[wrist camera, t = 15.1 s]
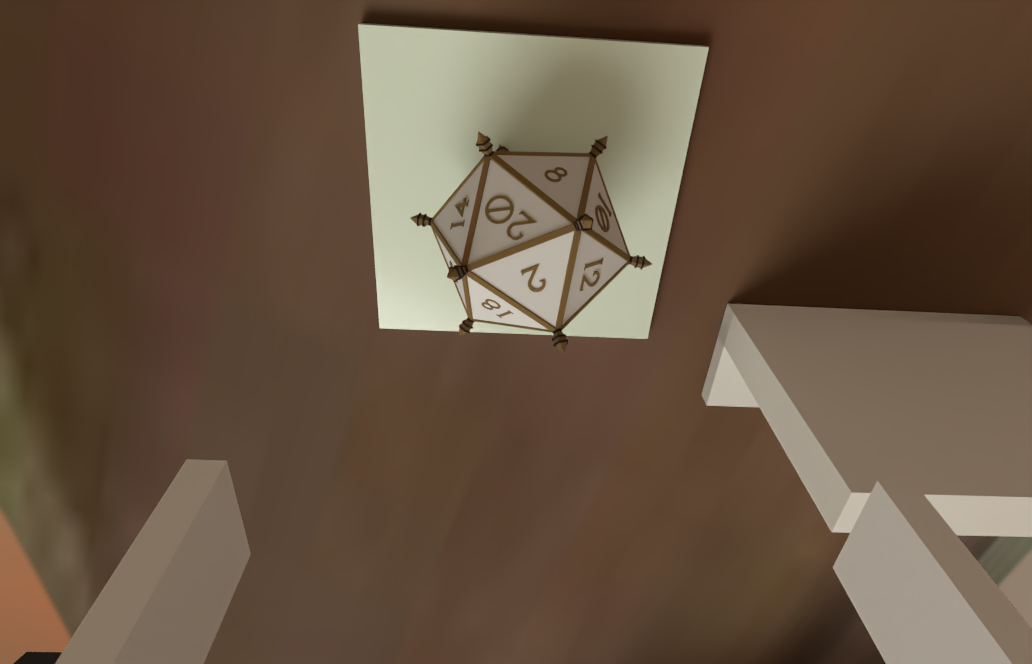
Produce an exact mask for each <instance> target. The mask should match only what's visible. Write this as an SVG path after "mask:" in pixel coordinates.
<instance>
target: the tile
mask: <svg viewBox="0 0 1032 664" xmlns="http://www.w3.org/2000/svg"><path fill="white" fill-rule="evenodd" d="M358 30H359V44H360V58H361V73H362V87H363V101H364V115H365V129H366V143H367V157H368V171H369V186H370V200H371V214H372V228H373V242H374V256H375V270H376V285H377V299H378V313H379V327H380V328H389V329H414V330H439V331H459V325H460V324H462V321H463V320H466V319H467V318H468V316H467V313H466V311H465V309H464V306H463V304H462V301H461V299H460V296H459V294H458V292H457V289H456V287H455V284H454V282H453V280H451V279H449V278H447V275H448V272H449V270H448V267H447V265H446V262H445V260H444V257H443V255H442V253H441V250H440V248H439V245H438V243H437V240H436V238H435V235H434V233H433V231H432V228H431V226H429V225H428V226H426V227H422V225H420V226H417V224H416V223H415V222H414V221H412V220H411V219H410V218H411V217H413V216H415V215H418V214H419V213H421V214H423V215H425V214H427V216H428V217H430V218H432V217H434V215H435V214H436V213H437V212H438V211H439V209H440V208H441V207H442V206H443V204H444V203H445V202H446V201H447V200H448V198H449V197H450V196H451V195H452V194H453V192H454V191H455V190H456V189H457V188H458V186H459V185H460V184H461V183H462V182H463V180H464V179H465V178H466V177H467V176H468V174H469V173H470V172H471V171H472V170H473V168H474V167H475V166H476V165H477V164H478V162H479V161H480V160H481V159H482V158H483V156H484V154H483V153H482V152H479V147H478V146H476V143H477V139H478V131H479V132H480V133H482V134H483V135H485V136H488V137H489V138H490V139H491V140H490V143H492V144H493V146H492V151H496V149H498V147H499V145H501V146H504V147H506V148H507V149H508V150H509V151H512V152H560V153H589V152H590V151H591V148H592V146H591V145H594V143H595V142H596V141H595V139H596V140H598V139H601V138H603V137H606V136H608V138H607V143H606V147H607V148H606V149H604V150H603V151H602V152H603V153H602V154H600V155H598V156H597V157H596V160H597V163H598V166H599V169H600V171H601V174H602V177H603V180H604V183H605V186H606V188H607V191H608V194H609V197H610V200H611V203H612V205H613V208H614V211H615V214H616V217H617V220H618V222H619V225H620V228H621V231H622V234H623V236H624V239H625V242H626V245H627V248H628V251H629V253H630V256H637V255H639V256H640V257H643V256H645V258H646V259H647V260H648V261H650V262H651V263H652V265H650V266H647V267H644V268H642V270H640V268H638V267H636V268H635V267H634V266H633V265H631V264H629V265H627V266H626V267H625V268H624V269H623V270H622V271H621V272H620V273H619V274H618V275H617V276H616V277H615V278H614V279H613V280H612V281H611V282H610V283H609V284H608V285H607V286H606V287H605V288H604V289H603V290H602V291H601V292H600V293H599V294H598V295H597V296H596V297H595V298H594V299H593V300H592V301H591V302H590V303H589V304H588V305H587V306H586V307H585V308H584V309H583V310H582V311H581V312H580V313H579V314H578V315H577V316H576V317H575V318H574V319H573V320H572V321H571V322H570V323H569V324H568V325H567V326H566V327H565V328H564V329H563V330H562V332H563V334H566V336H588V337H613V338H638V339H647V338H648V334H649V329H650V324H651V319H652V315H653V310H654V305H655V300H656V296H657V291H658V286H659V281H660V277H661V272H662V267H663V263H664V258H665V253H666V248H667V244H668V239H669V234H670V229H671V225H672V220H673V215H674V210H675V206H676V201H677V196H678V192H679V187H680V182H681V177H682V173H683V168H684V163H685V158H686V154H687V149H688V144H689V139H690V135H691V130H692V125H693V121H694V116H695V111H696V106H697V102H698V97H699V92H700V87H701V83H702V78H703V73H704V68H705V64H706V59H707V54H708V49H709V47H707V46H705V45H690V44H675V43H660V42H645V41H630V40H614V39H599V38H584V37H569V36H554V35H538V34H523V33H508V32H493V31H477V30H462V29H447V28H432V27H417V26H401V25H386V24H371V23H360V24H358ZM472 327H473V329H472V328H471V330H470V332H488V333H513V334H538V335H554V334H553V333H552V332H545V331H538V330H531V329H524V328H517V327H510V326H503V325H496V324H489V323H482V322H474V323H473V326H472Z"/></svg>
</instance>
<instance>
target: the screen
mask: <svg viewBox="0 0 1032 664" xmlns="http://www.w3.org/2000/svg"><path fill="white" fill-rule="evenodd" d="M702 397H703V399H704V401H705V403H706V405H708V406H736V407H760V409H761V411H762V413H763V414H764V416H765V418H766V420H767V421H768V423H769V425H770V426H771V428H772V430H773V432H774V433H775V435H776V437H777V439H778V440H779V442H780V444H781V446H782V447H783V449H784V451H785V452H786V454H787V456H788V458H789V459H790V461H791V463H792V465H793V466H794V468H795V470H796V472H797V473H798V475H799V477H800V478H801V480H802V482H803V484H804V485H805V487H806V489H807V491H808V492H809V494H810V496H811V498H812V499H813V501H814V503H815V504H816V506H817V508H818V510H819V511H820V513H821V515H822V517H823V518H824V520H825V522H826V524H827V525H828V527H829V529H830V530H831V532H844V533H851V531H852V529H853V527H854V525H855V523H856V521H857V519H858V517H859V515H860V513H861V511H862V509H863V507H864V505H865V504H866V502H867V500H868V498H869V496H870V494H871V492H872V490H873V488H874V486H875V484H876V482H877V480H879V481H912V482H914V483H915V484H916V486H917V487H918V488H919V489H920V491H921V492H922V493H923V494H924V495H925V497H926V498H927V499H928V500H929V502H930V503H931V504H932V505H933V507H934V508H935V509H936V510H937V512H938V513H939V514H940V515H941V517H942V518H943V519H944V520H945V522H946V523H947V524H948V525H949V527H950V528H951V529H952V530H953V532H954V533H955V534H956V535H970V536H1013V537H1032V324H1031V323H1029V322H1028V321H1026V320H1025V319H1023V318H1022V317H1021V316H1004V315H981V314H958V313H935V312H912V311H889V310H866V309H843V308H820V307H797V306H774V305H751V304H728V303H727V307H726V310H725V314H724V317H723V321H722V324H721V328H720V331H719V335H718V338H717V342H716V345H715V349H714V352H713V356H712V359H711V363H710V366H709V370H708V373H707V377H706V380H705V384H704V387H703V391H702Z"/></svg>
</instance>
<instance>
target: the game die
mask: <svg viewBox="0 0 1032 664" xmlns="http://www.w3.org/2000/svg"><path fill="white" fill-rule="evenodd" d="M607 138H608V136H606V137H603V138H601V139H598V140H596V139H595V141H596V142H595V143H594V145H591V146H592V148H591V151H590V152H589V153H560V152H512V151H509V150H508V149H507V148H506V147H504V146H501V145H499V147H498V149H496V151H492V146H493V144H492V143H490V140H491V139H490V138H489V137H488V136H485V135H483V134H482V133H480V132H479V131H478V139H477V143H476V146H478V147H479V152H482V153H483V154H484V156H483V158H482V159H481V160H480V161H479V162H478V164H477V165H476V166H475V167H474V168H473V170H472V171H471V172H470V173H469V174H468V176H467V177H466V178H465V179H464V180H463V182H462V183H461V184H460V185H459V186H458V188H457V189H456V190H455V191H454V192H453V194H452V195H451V196H450V197H449V198H448V200H447V201H446V202H445V203H444V204H443V206H442V207H441V208H440V209H439V211H438V212H437V213H436V214H435V215H434V217H432V218H430V217H428V216H427V214H425V215H423V214H421V213H419V214H418V215H415V216H413V217H411V218H410V219H411V220H412V221H414V222H415V223H416V224H417V226H420V225H422V227H426V226H428V225H429V226H431V228H432V231H433V233H434V235H435V238H436V240H437V243H438V245H439V248H440V250H441V253H442V255H443V257H444V260H445V262H446V265H447V267H448V270H449V272H448V275H447V278H449V279H451V280H453V282H454V284H455V287H456V289H457V292H458V294H459V296H460V299H461V301H462V304H463V306H464V309H465V311H466V313H467V316H468V318H467V319H466V320H463V321H462V324H460V325H459V335H462V334H465V333H470V330H471V328H472V329H473V327H472V326H473V323H474V322H482V323H489V324H496V325H503V326H510V327H517V328H524V329H531V330H538V331H545V332H552V333H553V334H554V335H553V339H552V340H553V341H554V346H555V347H557V348H558V349H560V350H561V351H562V352H563V353H564V352H565V348H566V345H567V343H568V340H566V334H563V332H562V330H563V329H564V328H565V327H566V326H567V325H568V324H569V323H570V322H571V321H572V320H573V319H574V318H575V317H576V316H577V315H578V314H579V313H580V312H581V311H582V310H583V309H584V308H585V307H586V306H587V305H588V304H589V303H590V302H591V301H592V300H593V299H594V298H595V297H596V296H597V295H598V294H599V293H600V292H601V291H602V290H603V289H604V288H605V287H606V286H607V285H608V284H609V283H610V282H611V281H612V280H613V279H614V278H615V277H616V276H617V275H618V274H619V273H620V272H621V271H622V270H623V269H624V268H625V267H626V266H627V265H629V264H631V265H633V266H634V267H635V268H636V267H638V268H640V270H642V268H644V267H647V266H650V265H652V263H651V262H650V261H648V260H647V259H646V258H645V256H643V257H640V256H639V255H637V256H630V253H629V251H628V248H627V245H626V242H625V239H624V236H623V234H622V231H621V228H620V225H619V222H618V220H617V217H616V214H615V211H614V208H613V205H612V203H611V200H610V197H609V194H608V191H607V188H606V186H605V183H604V180H603V177H602V174H601V171H600V169H599V166H598V163H597V160H596V157H597V156H598V155H600V154H602V153H603V152H602V151H603V150H604V149H606V148H607V147H606V143H607Z"/></svg>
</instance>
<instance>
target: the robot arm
mask: <svg viewBox="0 0 1032 664" xmlns="http://www.w3.org/2000/svg"><path fill="white" fill-rule="evenodd" d="M250 555H251V553H250V549H249V546H248V542H247V538H246V534H245V530H244V526H243V522H242V518H241V514H240V510H239V507H238V503H237V499H236V495H235V491H234V487H233V483H232V479H231V475H230V471H229V468H228V464H227V461H218V460H186V461H185V463H184V464H183V466H182V467H181V469H180V471H179V472H178V474H177V475H176V477H175V478H174V480H173V481H172V483H171V484H170V486H169V488H168V489H167V491H166V492H165V494H164V495H163V497H162V498H161V500H160V502H159V503H158V505H157V506H156V508H155V509H154V511H153V512H152V514H151V515H150V517H149V519H148V520H147V522H146V523H145V525H144V526H143V528H142V529H141V531H140V533H139V534H138V536H137V537H136V539H135V540H134V542H133V543H132V545H131V547H130V548H129V550H128V551H127V553H126V554H125V556H124V557H123V559H122V560H121V562H120V564H119V565H118V567H117V568H116V570H115V571H114V573H113V574H112V576H111V578H110V579H109V581H108V582H107V584H106V585H105V587H104V588H103V590H102V591H101V593H100V595H99V596H98V598H97V599H96V601H95V602H94V604H93V605H92V607H91V609H90V610H89V612H88V613H87V615H86V616H85V618H84V619H83V621H82V622H81V624H80V626H79V627H78V629H77V630H76V632H75V633H74V635H73V636H72V638H71V640H70V641H69V643H68V644H67V646H66V648H65V649H64V650H63V652H62V653H59V652H26V653H25V654H24V655H23V656H22V657H20V659H18V660H17V661H16V662H15V663H14V664H204V661H205V659H206V657H207V654H208V652H209V650H210V647H211V645H212V643H213V640H214V638H215V636H216V633H217V631H218V629H219V626H220V624H221V622H222V620H223V617H224V615H225V613H226V610H227V608H228V606H229V603H230V601H231V599H232V596H233V594H234V592H235V589H236V587H237V585H238V582H239V580H240V578H241V575H242V573H243V571H244V568H245V566H246V564H247V561H248V559H249V557H250ZM833 569H834V571H835V573H836V575H837V576H838V578H839V580H840V582H841V584H842V585H843V587H844V589H845V591H846V593H847V594H848V596H849V598H850V600H851V602H852V603H853V605H854V607H855V609H856V611H857V612H858V614H859V616H860V618H861V620H862V621H863V623H864V625H865V627H866V629H867V630H868V632H869V634H870V636H871V638H872V640H873V641H874V643H875V645H876V647H877V649H878V650H879V652H880V654H881V656H882V658H883V659H884V661H885V663H886V664H1032V628H1031V627H1030V626H1029V625H1028V624H1027V622H1026V621H1025V620H1024V619H1023V617H1022V616H1021V615H1020V614H1019V612H1018V611H1017V610H1016V609H1015V607H1014V606H1013V605H1012V604H1011V602H1010V601H1009V600H1008V599H1007V597H1006V596H1005V595H1004V594H1003V593H1002V591H1001V590H1000V589H999V587H998V586H997V585H996V584H995V582H994V581H993V580H992V579H991V577H990V576H989V575H988V574H987V573H986V571H985V570H984V569H983V568H982V566H981V565H980V564H979V563H978V561H977V560H976V559H975V558H974V556H973V555H972V554H971V553H970V551H969V550H968V549H967V548H966V546H965V545H964V544H963V543H962V541H961V540H960V539H959V538H958V536H957V535H956V534H955V533H954V532H953V530H952V529H951V528H950V527H949V525H948V524H947V523H946V522H945V520H944V519H943V518H942V517H941V515H940V514H939V513H938V512H937V510H936V509H935V508H934V507H933V505H932V504H931V503H930V502H929V500H928V499H927V498H926V497H925V495H924V494H923V493H922V492H921V491H920V489H919V488H918V487H917V486H916V484H915V483H914V482H912V481H879V480H877V482H876V484H875V486H874V488H873V490H872V492H871V494H870V496H869V498H868V500H867V502H866V504H865V505H864V507H863V509H862V511H861V513H860V515H859V517H858V519H857V521H856V523H855V525H854V527H853V529H852V531H851V533H850V535H849V537H848V538H847V540H846V542H845V544H844V546H843V548H842V550H841V552H840V554H839V556H838V558H837V560H836V562H835V564H834V566H833Z"/></svg>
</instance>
